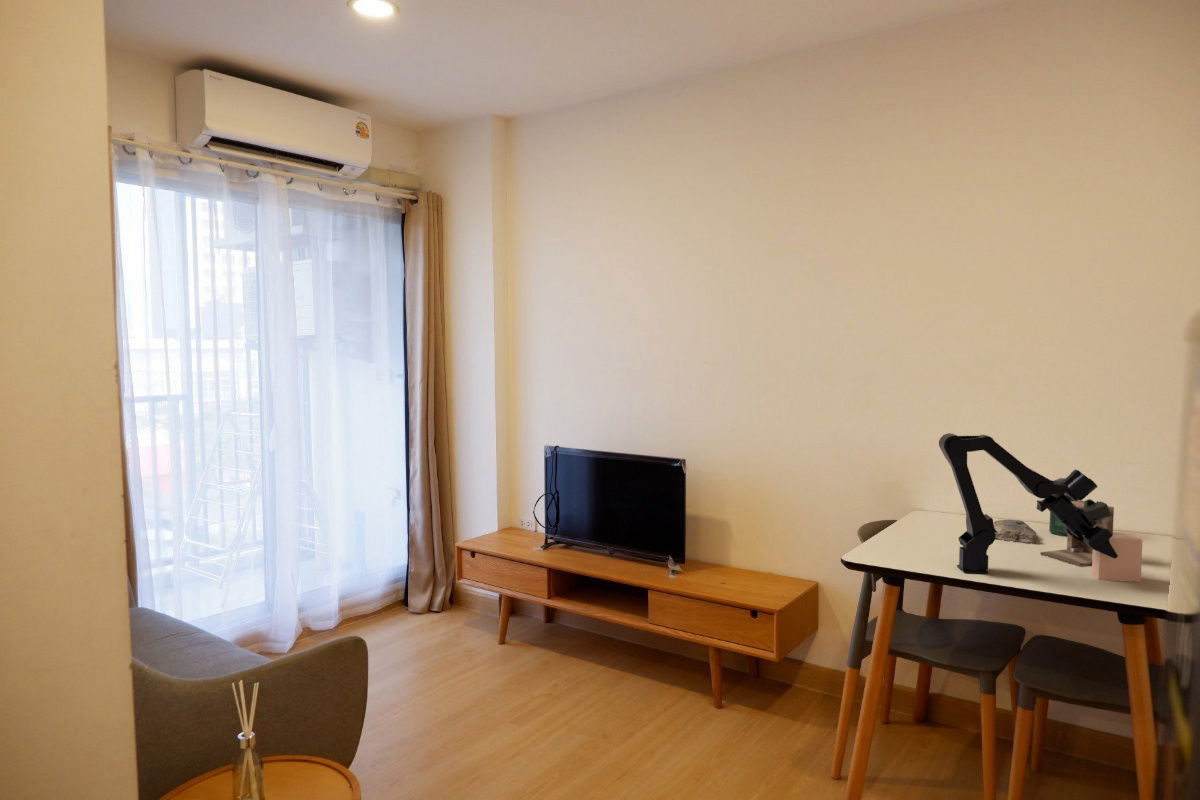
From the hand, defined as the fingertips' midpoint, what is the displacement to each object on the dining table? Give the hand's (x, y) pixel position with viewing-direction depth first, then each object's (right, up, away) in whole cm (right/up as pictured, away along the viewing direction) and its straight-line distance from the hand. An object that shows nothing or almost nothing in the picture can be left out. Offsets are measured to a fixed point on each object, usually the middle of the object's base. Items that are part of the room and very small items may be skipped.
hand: (1110, 553), depth 203 cm
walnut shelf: (+4, -5, +20) cm, 21 cm away
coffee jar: (+18, -4, +50) cm, 54 cm away
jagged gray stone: (0, -4, +48) cm, 48 cm away
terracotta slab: (+2, -7, 0) cm, 7 cm away
